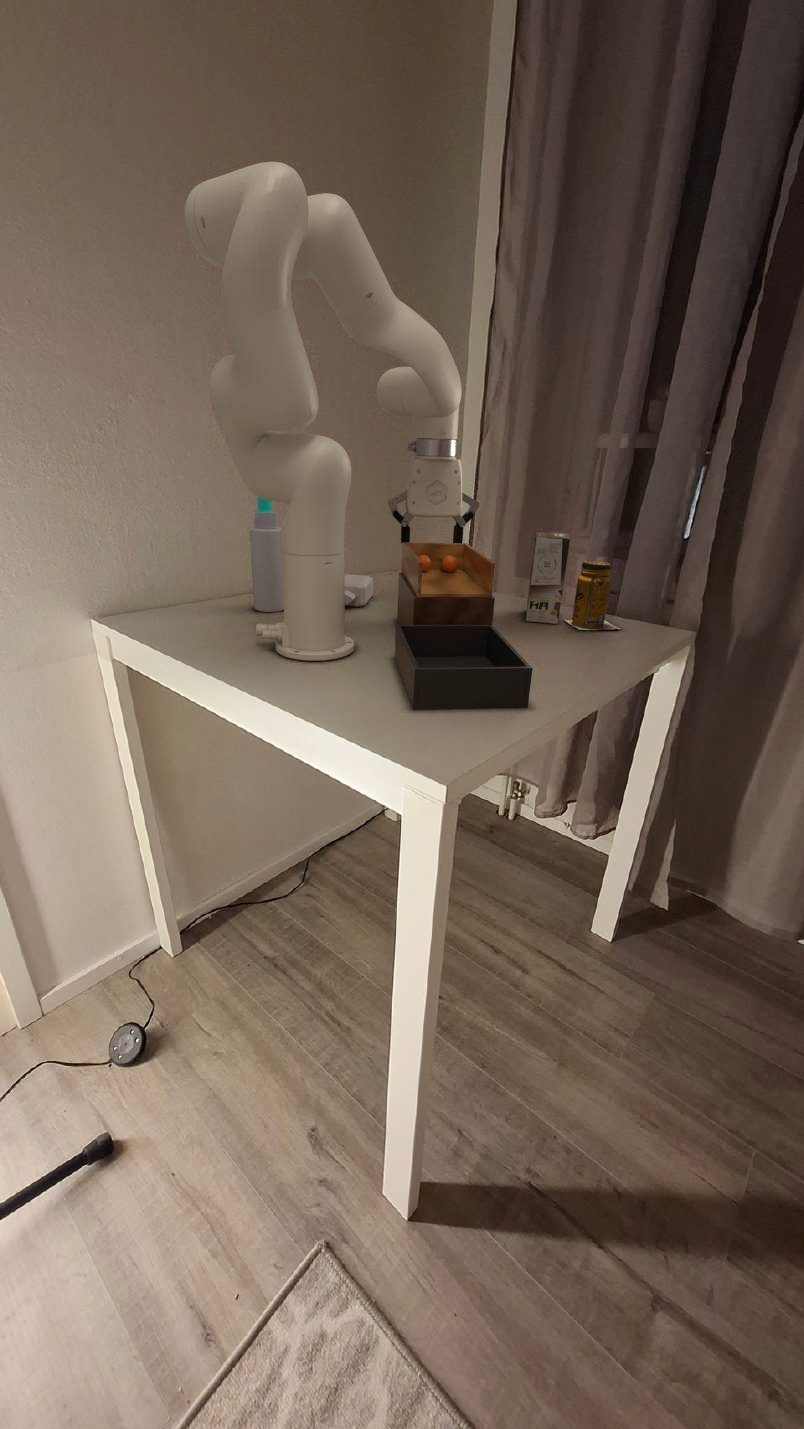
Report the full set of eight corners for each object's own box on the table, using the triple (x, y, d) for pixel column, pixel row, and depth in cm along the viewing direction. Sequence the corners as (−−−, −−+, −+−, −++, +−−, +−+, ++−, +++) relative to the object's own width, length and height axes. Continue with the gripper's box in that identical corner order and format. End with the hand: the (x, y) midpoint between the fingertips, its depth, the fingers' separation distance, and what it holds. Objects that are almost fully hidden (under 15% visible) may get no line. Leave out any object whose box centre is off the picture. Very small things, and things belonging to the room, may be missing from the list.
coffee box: (558, 624, 119) (571, 538, 112) (525, 621, 120) (535, 536, 113) (557, 613, 127) (568, 532, 120) (525, 610, 128) (535, 530, 121)
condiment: (563, 620, 122) (572, 559, 117) (603, 620, 123) (614, 559, 118) (579, 631, 115) (589, 566, 110) (621, 630, 116) (632, 566, 112)
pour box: (457, 566, 121) (459, 538, 119) (491, 597, 98) (495, 563, 95) (397, 565, 120) (398, 537, 118) (417, 597, 96) (418, 562, 94)
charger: (313, 611, 121) (331, 595, 135) (359, 615, 120) (372, 597, 134) (313, 587, 119) (331, 573, 133) (359, 590, 118) (373, 575, 132)
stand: (411, 652, 100) (414, 597, 96) (397, 619, 118) (398, 572, 114) (489, 652, 101) (494, 598, 98) (463, 619, 119) (467, 573, 116)
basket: (412, 709, 78) (414, 669, 76) (394, 658, 97) (395, 624, 94) (527, 707, 80) (532, 668, 78) (488, 657, 99) (492, 624, 96)
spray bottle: (291, 609, 122) (287, 492, 114) (268, 614, 118) (261, 493, 109) (271, 603, 126) (265, 489, 117) (247, 608, 121) (240, 490, 112)
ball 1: (415, 573, 111) (416, 556, 109) (413, 570, 113) (413, 553, 112) (431, 573, 111) (432, 556, 110) (429, 570, 114) (429, 553, 112)
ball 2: (442, 573, 111) (443, 556, 110) (439, 570, 114) (440, 553, 113) (458, 573, 112) (460, 556, 110) (455, 570, 114) (456, 554, 113)
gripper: (390, 449, 106) (388, 550, 113) (487, 452, 108) (480, 551, 115) (385, 448, 113) (384, 543, 120) (477, 450, 115) (471, 544, 122)
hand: (431, 547), depth 118 cm, fingers open, 9 cm apart
